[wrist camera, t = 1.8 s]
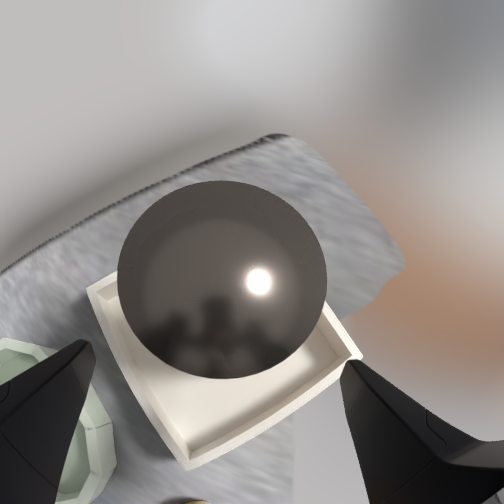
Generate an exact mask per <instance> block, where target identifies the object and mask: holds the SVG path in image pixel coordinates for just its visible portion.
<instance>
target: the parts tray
mask: <svg viewBox="0 0 504 504" xmlns="http://www.w3.org/2000/svg"><path fill="white" fill-rule="evenodd" d="M85 289H86V291H87V294H88V297H89V300H90V302H91V305H92V307H93V310H94V312H95V315H96V317H97V320H98V322H99V325H100V327H101V329H102V332H103V334H104V336H105V338H106V340H107V343H108V345H109V347H110V349H111V351H112V353H113V355H114V357H115V359H116V361H117V363H118V365H119V367H120V369H121V371H122V373H123V375H124V377H125V379H126V381H127V383H128V384H129V386H130V388H131V390H132V392H133V393H134V395H135V397H136V399H137V400H138V402H139V404H140V405H141V407H142V409H143V410H144V412H145V414H146V415H147V417H148V418H149V420H150V422H151V423H152V425H153V426H154V428H155V429H156V431H157V432H158V434H159V435H160V437H161V438H162V440H163V441H164V442H165V444H166V445H167V447H168V448H169V449H170V451H171V452H172V454H173V455H174V456H175V458H176V459H177V460H178V462H179V463H180V464H181V465H182V467H183V468H184V469H185V471H186V472H188V471H190V470H192V469H195V468H197V467H199V466H201V465H203V464H205V463H207V462H209V461H211V460H213V459H215V458H217V457H219V456H221V455H223V454H225V453H227V452H229V451H231V450H232V449H234V448H236V447H238V446H240V445H241V444H243V443H245V442H247V441H248V440H250V439H252V438H253V437H255V436H257V435H258V434H260V433H262V432H263V431H265V430H267V429H268V428H270V427H271V426H273V425H274V424H276V423H278V422H279V421H281V420H282V419H284V418H285V417H287V416H288V415H290V414H291V413H292V412H294V411H295V410H297V409H298V408H300V407H301V406H302V405H304V404H305V403H307V402H308V401H309V400H311V399H312V398H313V397H315V396H316V395H317V394H319V393H320V392H321V391H323V390H324V389H325V388H327V387H328V386H329V385H330V384H332V383H333V382H334V381H335V380H337V379H338V378H339V377H340V376H341V373H342V371H343V368H344V366H345V363H346V361H347V360H351V359H358V360H360V359H362V358H363V355H362V354H361V353H360V351H359V349H358V348H357V347H356V345H355V343H354V342H353V341H352V339H351V338H350V336H349V335H348V333H347V332H346V330H345V329H344V328H343V326H342V325H341V323H340V322H339V320H338V319H337V317H336V316H335V314H334V313H333V311H332V310H331V309H330V307H329V306H328V304H327V303H326V301H325V302H324V306H323V309H322V312H321V315H320V318H319V320H318V322H317V324H316V326H315V328H314V330H313V331H312V332H311V334H310V335H309V337H308V338H307V339H306V341H305V342H304V343H303V344H302V345H301V346H300V347H299V348H298V349H297V350H296V352H294V353H293V354H292V355H291V356H289V357H288V358H287V359H285V360H284V361H283V362H281V363H279V364H277V365H276V366H274V367H272V368H270V369H268V370H266V371H263V372H261V373H258V374H255V375H251V376H247V377H243V378H235V379H209V378H204V377H199V376H194V375H191V374H188V373H185V372H182V371H179V370H177V369H175V368H173V367H172V366H170V365H168V364H166V363H164V362H163V361H161V360H160V359H159V358H157V357H156V356H155V355H153V354H152V353H151V352H150V351H149V350H148V349H147V348H146V347H145V346H144V345H143V344H142V343H141V342H140V341H139V339H138V338H137V337H136V335H135V334H134V333H133V331H132V329H131V328H130V326H129V324H128V322H127V321H126V318H125V316H124V313H123V311H122V308H121V305H120V300H119V296H118V288H117V271H115V272H114V273H112V274H110V275H108V276H107V277H105V278H103V279H101V280H99V281H98V282H96V283H94V284H92V285H91V286H89V287H87V288H85Z"/></svg>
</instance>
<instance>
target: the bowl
mask: <svg viewBox="0 0 504 504" xmlns="http://www.w3.org/2000/svg"><path fill="white" fill-rule="evenodd" d="M56 352H58V351H57V350H55V349H51V348H47V347H44V346H40V345H36V344H32V343H27V342H22V341H18V340H13V339H9V338H5V337H3V338H2V339H0V385H2V384H3V383H5V382H7V381H8V380H11V379H12V378H14V377H15V376H17V375H19V374H20V373H22V372H24V371H25V370H27V369H29V368H31V367H32V366H34V365H36V364H37V363H39V362H41V361H43V360H44V359H46V358H48V357H49V356H51V355H53V354H55V353H56ZM116 466H117V461H116V454H115V446H114V436H113V425H112V421H111V419H110V417H109V415H108V414H107V412H106V410H105V408H104V407H103V405H102V403H101V401H100V399H99V397H98V395H97V393H96V391H95V389H94V387H93V385H92V383H91V382H90V386H89V389H88V393H87V397H86V400H85V403H84V406H83V409H82V411H81V414H80V417H79V420H78V423H77V426H76V429H75V432H74V435H73V438H72V441H71V444H70V447H69V451H68V454H67V457H66V461H65V464H64V468H63V472H62V476H61V479H60V483H59V488H58V492H57V497H56V501H55V504H90V503H91V502H92V501H93V500H94V499H96V498H97V497H98V496H99V495H100V494H101V493H102V492H103V490H104V488H105V486H106V484H107V482H108V481H109V479H110V477H111V475H112V473H113V472H114V470H115V468H116Z"/></svg>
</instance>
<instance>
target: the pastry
mask: <svg viewBox="0 0 504 504" xmlns="http://www.w3.org/2000/svg"><path fill="white" fill-rule="evenodd" d="M185 504H212V503H210V502H206V501H194V502H189V503H185Z"/></svg>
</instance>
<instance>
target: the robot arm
mask: <svg viewBox="0 0 504 504" xmlns="http://www.w3.org/2000/svg"><path fill="white" fill-rule="evenodd" d="M95 362H96V360H95V355H94V352H93V348H92V345H91V343H90V341H87V340H83V339H79V340H77V341H75V342H74V343H72V344H70V345H68V346H67V347H65V348H63V349H61V350H60V351H58V352H56V353H55V354H53V355H51V356H49V357H48V358H46V359H44V360H43V361H41V362H39V363H37V364H36V365H34V366H32V367H31V368H29V369H27V370H25V371H24V372H22V373H20V374H19V375H17V376H15V377H14V378H12V379H11V380H8V381H7V382H5V383H3V384H2V385H0V504H55V501H56V497H57V492H58V488H59V483H60V479H61V476H62V472H63V468H64V464H65V461H66V457H67V454H68V451H69V447H70V444H71V441H72V438H73V435H74V432H75V429H76V426H77V423H78V420H79V417H80V414H81V411H82V409H83V406H84V403H85V400H86V397H87V393H88V389H89V386H90V382H91V378H92V374H93V371H94V367H95ZM340 385H341V390H342V396H343V401H344V407H345V413H346V418H347V422H348V425H349V428H350V432H351V435H352V439H353V441H354V446H355V449H356V453H357V457H358V460H359V464H360V468H361V471H362V475H363V479H364V483H365V487H366V491H367V495H368V499H369V503H370V504H504V440H501V441H492V442H486V441H481V440H478V439H476V438H473V437H471V436H470V435H468V434H466V433H464V432H463V431H461V430H459V429H457V428H455V427H453V426H451V425H450V424H448V423H447V422H445V421H443V420H442V419H440V418H439V417H437V416H436V415H434V414H432V412H430V411H429V410H427V409H425V408H424V407H423V406H422V405H420V404H419V403H418V402H416V401H415V400H413V399H412V398H411V397H409V396H408V395H406V394H405V393H404V392H402V391H401V390H399V389H398V388H397V387H395V386H394V385H393V384H391V383H390V382H388V381H387V380H386V379H384V378H383V377H382V376H380V375H379V374H378V373H376V372H375V371H374V370H372V369H371V368H370V367H368V366H367V365H365V364H364V363H363V362H361V361H360V360H358V359H351V360H347V361H346V363H345V366H344V368H343V371H342V373H341V376H340Z"/></svg>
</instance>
